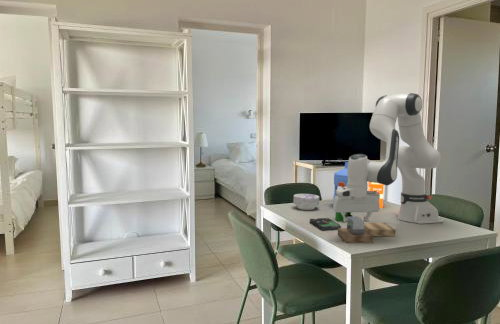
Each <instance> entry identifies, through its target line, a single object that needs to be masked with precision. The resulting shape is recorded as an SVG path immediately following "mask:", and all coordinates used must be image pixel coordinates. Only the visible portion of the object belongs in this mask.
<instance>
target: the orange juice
mask: <svg viewBox="0 0 500 324" xmlns="http://www.w3.org/2000/svg"><path fill="white" fill-rule="evenodd" d="M367 183H368V189H367V191H377V192H379V194H380V199H379V203H380V209H383V206H384V203H383V202H384V186H385V185H383V184H379V183H373V182H367Z"/></svg>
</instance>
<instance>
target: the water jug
mask: <svg viewBox="0 0 500 324" xmlns="http://www.w3.org/2000/svg"><path fill="white" fill-rule="evenodd" d="M347 168H348V161H345V162H344V168H342V169H340V170H338V171H336V172H334V173H333V175H334V176H333V185H334V191H333V193H334V194H333V197H332V198H333V200H332V201H333V202H332V205H333V204H334V198H335V196H336V195H337V194H336V190H337V189H339V188H338V184H339V182H343V183H344V184H345V187H346V186H347V182H348V176H347ZM340 188H342V187H341V186H340Z"/></svg>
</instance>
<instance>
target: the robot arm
mask: <svg viewBox="0 0 500 324" xmlns="http://www.w3.org/2000/svg"><path fill="white" fill-rule="evenodd" d="M422 109H423V100H422V97H421V96H420V95H419V94H418V93H415V92H413V93H412V92H411V93H396V94H395V93H394V94H390V95H387V94H386V95H383V96H380V97H378V99H377V100H376V102H375V108H374V111H373V113H372V114H371V115H372V116H371V119H370V122H369V131H370V132H371V134H372V135H373V136H375V137H376V138H377V139H379V140H381V141H383V142H385V143H386V153H385V159H384V160H383V161H378V160H377V161H375V160H370V159H368V155H366V154H363V153H356V154H355V153H354V154H353V155H351V156H349V158H348V161H347V162H348V168H347V176H348V182H347V186H346V187H343V188H341V187H340V188H337V190H336V194H337V195H336V196H335V198H334V197H333V198H334V204H333V203H332V210H333V211H334V212H335V213H336V212H337V213H338V212H341V214H342V216H343V221H344V222H343V223H347V222H348V218H347V217H345V215H346V212H351V213H366V216H365V217H363V220H364V223H370V217H371V215H372V213H378V212H379V211H380V209H381V208H380V203H379V199H380V194H379V192H377V191H368V182H373V183H379V184H383V185H384V186H390V185H391V184H392V185H393V183H394V182H395V181H396V180H397V178H398V170H399V173H400V175H401V181H402V182H401V183H402V184H401V191H400V206H399V211H398V214H397V216H396V217H397V219H398V220H400V221H403V222H408V223H415V224H419V225H422V224H423V225H424V224H437V223H443V222H444V220H443V218H441V217H439V211H438V209H437V208H436V207H435V206H434V205H433V204H431V203H430V202H429V201H428V200H431V199H432V196H431V195H429V194H428V195H427V194H425V192H426V191H425V188H426V180H425V177H423V176H422V175H421V174H419V172H418V170H417V169H422V170H423V169H424V170H430V169H436V168H437V167H438V166H439V165H440V163H441V162H442V156H441V153H440V152H439V150H438V149H436V148H434V147H433V146H432V145H431V144H430V143H429V141H428V139H427V138H426V136H425V132H424V128H423V122H422V117H421V113H420V112H421V111H422ZM396 123H398V124H397V125H398V130H399V131H398V130H397V129H396ZM400 139H401V141H403V142H404V143H405V144H407V146H400Z"/></svg>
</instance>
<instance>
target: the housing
mask: <svg viewBox="0 0 500 324" xmlns="http://www.w3.org/2000/svg"><path fill="white" fill-rule="evenodd" d="M347 218H348V222H346V228H347V230H348V231H349V232H350V233H351V234H352V235H364V223H365V221H364V219H362V218H361V217H360V216H353V217H347Z"/></svg>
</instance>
